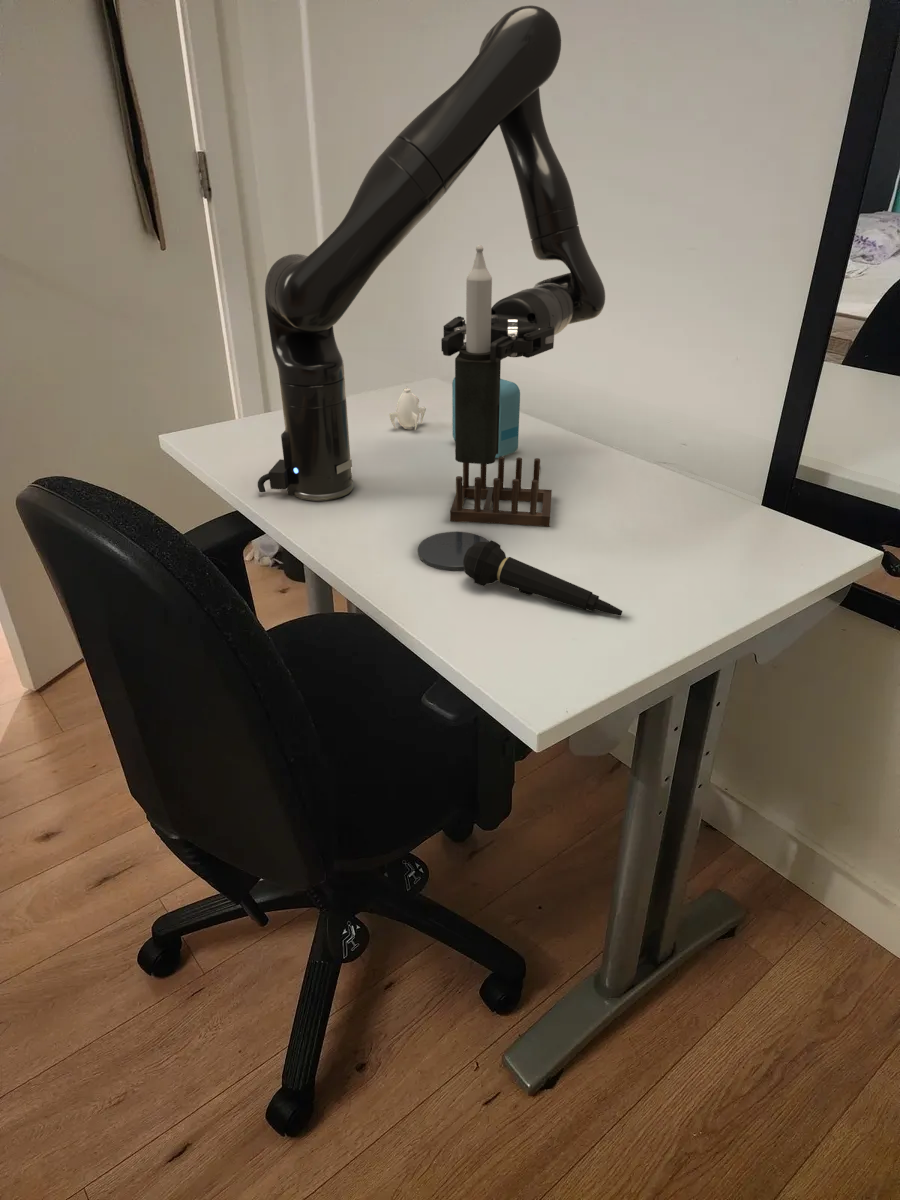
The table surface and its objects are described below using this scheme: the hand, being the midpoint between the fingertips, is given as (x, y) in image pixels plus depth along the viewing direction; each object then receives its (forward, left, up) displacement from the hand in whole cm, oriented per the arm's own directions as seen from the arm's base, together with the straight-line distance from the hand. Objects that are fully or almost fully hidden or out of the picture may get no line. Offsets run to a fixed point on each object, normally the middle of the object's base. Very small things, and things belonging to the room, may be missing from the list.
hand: (469, 350), depth 93 cm
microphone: (+10, -13, -26) cm, 30 cm away
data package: (-1, +37, -26) cm, 45 cm away
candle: (+1, +2, -14) cm, 14 cm away
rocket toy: (-16, +46, -26) cm, 55 cm away
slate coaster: (-1, -2, -26) cm, 26 cm away
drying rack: (+4, +12, -26) cm, 29 cm away
